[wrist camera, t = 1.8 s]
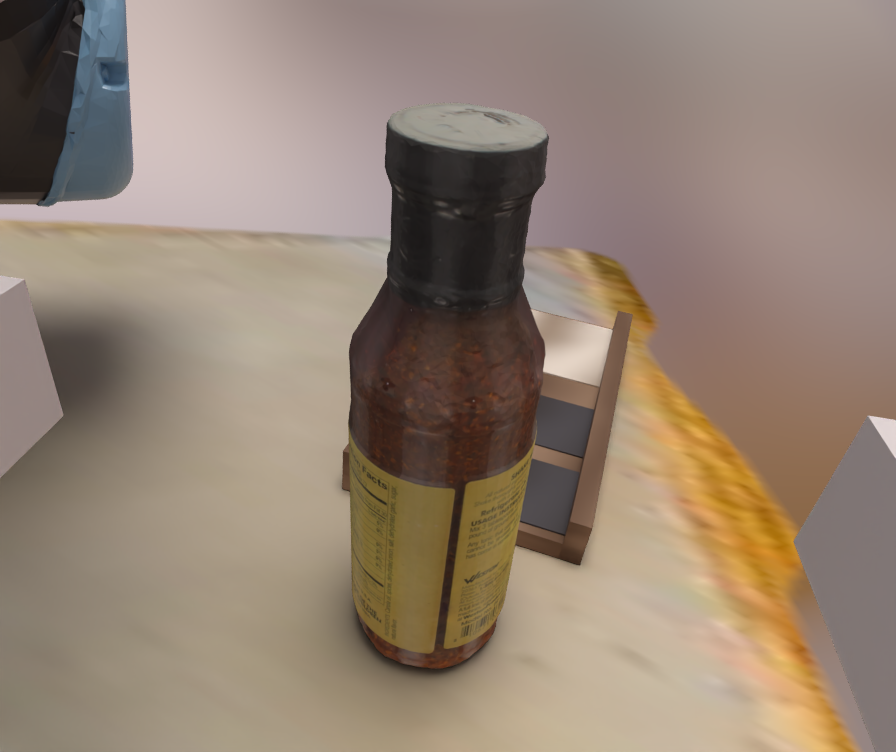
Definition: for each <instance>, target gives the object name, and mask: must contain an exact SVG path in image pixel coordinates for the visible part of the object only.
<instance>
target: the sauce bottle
mask: <svg viewBox="0 0 896 752" xmlns="http://www.w3.org/2000/svg"><path fill="white" fill-rule="evenodd" d="M548 140H549V136H548V134H547V132H546V130H545V128H544V127H543V126H542V125H541V124H539V123H538V122H536V121H534V120H531V119H530V118H528V117H526V116H523V115H520V114H516V113H513V112H509V111H505V110H499V109H493V108H487V107H484V106H478V105H472V104H462V103H436V104H426V105H418V106H414V107H409V108H405V109H403V110H401V111H398V112H396V113H394V114H392V116H391V117H390V119H389V120H388V123H387V137H386V154H385V168H386V173H387V175H388V178H389V181H390V184H391V186H392V212H391V213H392V214H391V246H390V252H389V253H388V258H387V278H386V280H385V282H384V284H383V286H382V288H381V289H380V291H379V293H378V295H377V297H376V299H375V300H374V302H373V304H372V306H371V307H370V309H369V310H368V312H367V313H366V315H365V316H364V318H363V319H362V321H361V322H360V324H359V325H358V327H357V329H356V330H355V332H354V333H353V336H352V340H351V344H350V348H349V360H350V381H351V405H350V412H349V421H348V427H349V467H350V511H351V558H352V593H353V599H354V603H355V606H356V609H357V612H358V616H359V621H360V622H361V623H362V625H363V629H364V631H365V632H366V634H367V636H368V637H369V639H370V640H371V642H373V643H374V645H375V647H376V649H377V650H378V651H379V652H380V653H382V654H383V655H384V656H385V657H388V658H391V659H393V660H395V661H398V662H400V663H402V664H408V665H412V666H416V667H428V668H431V669H435V668H437V669H442V668H446V667H449V666H453V665H456V664H459V663H461V662H462V661H464V660H466V659H468V658H469V657H470V656H471V655H472V654H473V653H475V652H476V651H478V650H479V649H480V648H481V647H482V646H483V645H484V644H485V643H486V642H487V641H488V640H489V638H490V637H491V635H492V634H493V632H494V629H495V627H496V621H497V617H498V615H499V613H500V611H501V609H502V606H503V603H504V600H505V595H506V590H507V585H508V580H509V575H510V569H511V564H512V559H513V554H514V548H515V543H516V538H517V532H518V527H519V522H520V516H521V511H522V506H523V501H524V495H525V490H526V485H527V480H528V475H529V470H530V465H531V460H532V455H533V450H534V445H535V440H536V434H537V421H536V412H537V407H538V403H539V399H540V394H541V389H542V385H543V367H544V359H545V355H546V353H545V342H544V339H543V338H542V336H541V334H540V332H539V329H538V327H537V324H536V322H535V319H534V316H533V313H532V311H531V308H530V305H529V303H528V300H527V297H526V295H525V292H524V289H523V287H522V282H523V279H524V267H523V257H524V253H525V244H526V237H527V232H528V222H529V217H530V213H531V204H532V200H533V197H534V195H535V193H536V192H537V190H538V189H539V188H540V187H541V186H542V185H543V183H544V181H545V178H546V175H545V167H546V159H547V158H546V156H547V145H548Z"/></svg>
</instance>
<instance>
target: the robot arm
mask: <svg viewBox="0 0 896 752" xmlns="http://www.w3.org/2000/svg"><path fill="white" fill-rule="evenodd" d="M132 173H133V151H132V131H131V111H130V93H129V73H128V50H127V26H126V5H125V0H0V204H36V205H38V206H46V207H49V206H51V205H54V204H55V203H56V202H62V201H79V200H98V199H107V198H111V197H113V196H115V195H117V194H119V193H120V192H122V191H123V190H124V189H125V188H126V186H127V185H128V184H129V182H130V180H131V177H132ZM63 416H64V415H63V411H62V408H61V404H60V401H59V397H58V394H57V390H56V387H55V383H54V380H53V377H52V373H51V370H50V366H49V363H48V359H47V356H46V352H45V349H44V345H43V342H42V338H41V335H40V331H39V328H38V324H37V321H36V317H35V314H34V310H33V307H32V304H31V300H30V297H29V293H28V290H27V286H26V283H25V279H19V278H13V277H7V276H1V275H0V478H1V477H2V476H3V475H4V474H5V473H6V472H7V471H8V470H9V469H10V468H11V467H12V466H13V465H14V464H15V463H16V462H17V461H18V460H19V459H20V458H21V457H22V456H23V455H24V454H25V453H26V452H27V451H28V450H29V449H30V448H31V447H32V446H33V445H34V444H35V443H36V442H37V441H38V440H39V439H40V438H41V437H42V436H43V435H45V434H46V433H47V432H48V431H49V430H50V429H51V428H52V427H53V426H54V425H55V424H56V423H57V422H58V421H59V420H60V419H61V418H62V417H63ZM794 544H795V547H796V549H797V552H798V554H799V557H800V559H801V562H802V565H803V567H804V570H805V572H806V575H807V577H808V580H809V583H810V585H811V588H812V590H813V593H814V595H815V598H816V600H817V603H818V605H819V608H820V611H821V613H822V616H823V618H824V621H825V624H826V626H827V629H828V631H829V634H830V636H831V639H832V642H833V644H834V647H835V649H836V652H837V654H838V657H839V660H840V662H841V665H842V667H843V670H844V672H845V675H846V677H847V680H848V683H849V685H850V688H851V690H852V693H853V695H854V698H855V701H856V703H857V706H858V708H859V711H860V713H861V716H862V719H863V721H864V724H865V726H866V729H867V731H868V734H869V736H870V739H871V742H872V744H873V747H874V749H875V752H896V420H892V419H885V418H879V417H873V416H868V417H867V418H866V420H865V422H864V423H863V425H862V427H861V428H860V430H859V432H858V433H857V435H856V437H855V438H854V440H853V442H852V444H851V445H850V447H849V448H848V450H847V452H846V454H845V455H844V457H843V459H842V460H841V462H840V464H839V465H838V467H837V469H836V470H835V472H834V474H833V476H832V477H831V479H830V481H829V482H828V484H827V486H826V488H825V489H824V491H823V493H822V494H821V496H820V497H819V499H818V501H817V503H816V504H815V506H814V508H813V509H812V511H811V513H810V514H809V516H808V518H807V520H806V521H805V523H804V524H803V526H802V528H801V530H800V531H799V533H798V535H797V536H796V538H795V540H794Z"/></svg>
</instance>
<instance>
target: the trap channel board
mask: <svg viewBox="0 0 896 752" xmlns="http://www.w3.org/2000/svg"><path fill="white" fill-rule="evenodd" d="M531 311H532V313H533V316H534V319H535V322H536V324H537V327H538V329H539V332H540V334H541V336H542V338H543V339H544V342H545V353H546V355H545V359H544V367H543V385H542V389H541V394H540V399H539V403H538V407H537V412H536V421H537V434H536V440H535V445H534V450H533V455H532V460H531V465H530V470H529V475H528V480H527V485H526V490H525V495H524V501H523V506H522V511H521V516H520V522H519V527H518V532H517V538H516V543H515V544H516V545H519V546H522V547H525V548H528V549H531V550H534V551H538V552H541V553H544V554H547V555H550V556H553V557H556V558H559V559H562V560H566V561H569V562H572V563H575V564H578V565H580V563H581V560H582V557H583V554H584V551H585V548H586V545H587V542H588V539H589V536H590V533H591V531H592V527H593V522H594V516H595V511H596V506H597V500H598V495H599V490H600V485H601V479H602V474H603V469H604V463H605V458H606V453H607V447H608V442H609V437H610V432H611V426H612V421H613V416H614V410H615V405H616V400H617V394H618V389H619V384H620V379H621V373H622V368H623V363H624V357H625V352H626V347H627V341H628V336H629V331H630V326H631V320H632V315H633V314H629V313H624V312H620V311H618V313H617V317H616V320H615V324H614V327H613V329H610V328H606V327H602V326H598V325H594V324H590V323H586V322H582V321H577V320H573V319H569V318H565V317H561V316H557V315H553V314H549V313H545V312H541V311H537V310H533V309H531ZM342 489H345V490H348V491H350V467H349V444H348V445H347V446H346V448H345V449H344V451H343V479H342Z"/></svg>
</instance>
